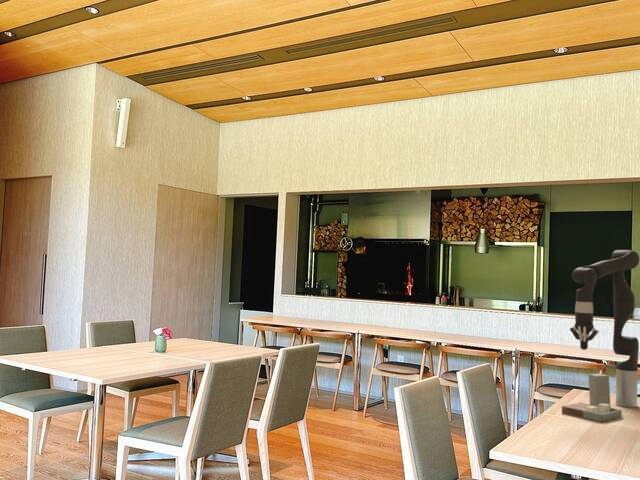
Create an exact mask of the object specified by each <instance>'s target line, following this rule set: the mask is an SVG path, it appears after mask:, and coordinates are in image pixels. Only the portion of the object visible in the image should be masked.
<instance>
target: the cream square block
mask: <svg viewBox="0 0 640 480" xmlns="http://www.w3.org/2000/svg"><path fill="white" fill-rule="evenodd" d="M586 411H587V412H592V413H597V414H598V407H595V406H588V407H586Z"/></svg>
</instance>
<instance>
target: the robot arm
mask: <svg viewBox="0 0 640 480" xmlns="http://www.w3.org/2000/svg"><path fill="white" fill-rule="evenodd" d="M639 263H640V255H639V254H638V253H637V251H634V250H630V249H615V250H614V251H613V252H612V254H611V259H606V260H601V261H597V262H595V263H593V264H590V265H585V266H580V267H577V268H575V269H574V270H573V271H572V274H571V278H572V280H573V281H574V282H575V283H577V284H584V285H583V287H581V288H578V289H576V291H575V308H574V312H575V313H574V314H575V315H574V316H575V317H574V318H575V323H574V326H572V327H569V330H570V332H571V333H572V335H573V336H574V338H575V339H576V340H578V341H579V344H580V345H579V347H580V350H583V351H587V349H588V348H589V347H588V346H589V341H590V342H591V341H592V340H593V339H594V338H595V337H596V336H597V335H598V333H599V332H600V331H599V330H598V329H596V328H595V326H594V301H593V300H594V299H593V296H594V290H595V287H596V283H597V279H600V278H603V277H606V276H608V275H611V274H612V282H613V285H612V286H613V297H612V298H613V337H612V338H613V339H612V342H613V343H612V349H613V352H614V354H615V355H620V356H628V357H629V358H628V359H627V360H623V361H619V362H617V363H616V365H615V366H616V369H615V380H616V381H615V405H617V406H619V407H625V408H637V407H638V384H639V383H638V379H639V378H638V377H639V376H638V375H639V373H638V369H639V367H638V365H639V364H638V363H639V351H640V349H639V348H640V342H639V339H638V338H637V337H635V336H629V335H627V336H626V335H625V336H624V335H623V329H624V327H625V325H626V323H627V322H629V320H630V318H631V317H632V315H633V314H634V312H635V309H636V308H635V305H636V301H635V299H636V297H635V294H634V292H633V291H632V288H631V287H630V285H629V284H628V282H627V280H626V277H625V271H626V270H633V269H636V267H638V266H639Z"/></svg>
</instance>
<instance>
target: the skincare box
mask: <svg viewBox="0 0 640 480" xmlns="http://www.w3.org/2000/svg"><path fill="white" fill-rule="evenodd" d="M588 388H589V389H588V391H589V392H588V393H589V394H588V395H589V404H590V405H595V406H598V404H602V403H605V404H610V405H611V389H610V376H609V375H606V374H602V373H588ZM610 408H612V407H611V406H610Z"/></svg>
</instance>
